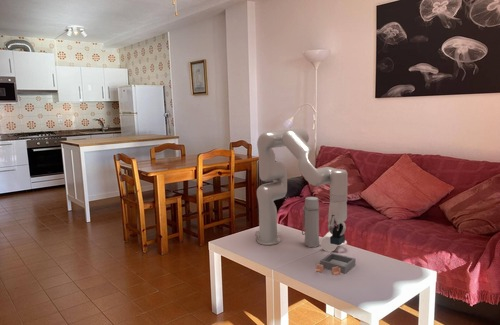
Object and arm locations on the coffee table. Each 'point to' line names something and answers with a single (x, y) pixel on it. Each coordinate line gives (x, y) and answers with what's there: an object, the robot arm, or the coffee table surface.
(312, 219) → the water bottle
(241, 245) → the coffee table surface
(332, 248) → the mug
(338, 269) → the clip
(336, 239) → the watch
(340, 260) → the holder
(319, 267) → the clip
